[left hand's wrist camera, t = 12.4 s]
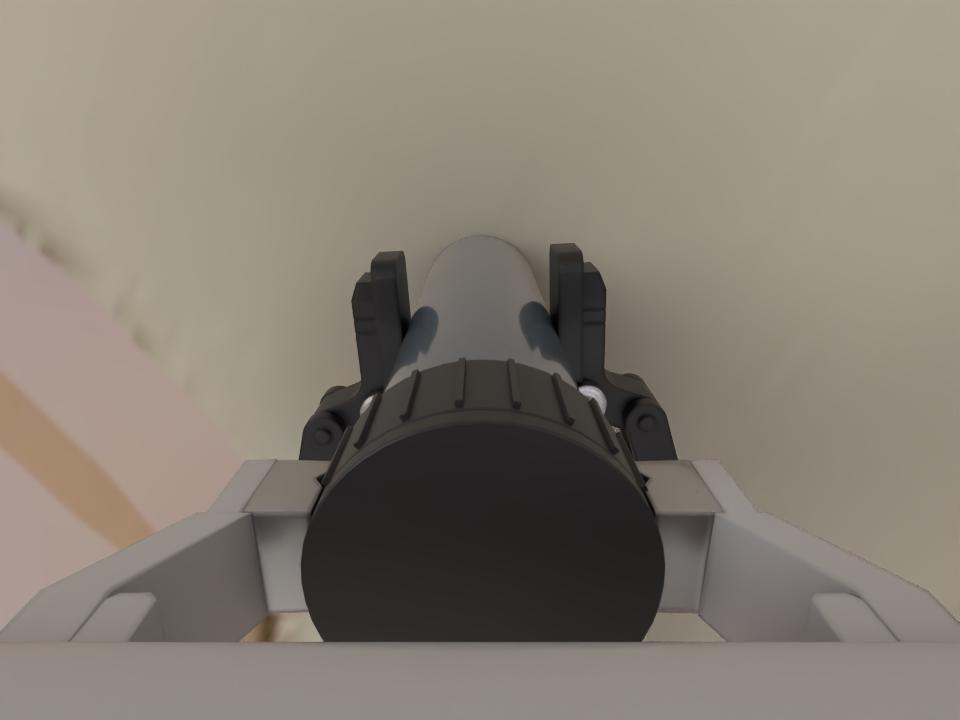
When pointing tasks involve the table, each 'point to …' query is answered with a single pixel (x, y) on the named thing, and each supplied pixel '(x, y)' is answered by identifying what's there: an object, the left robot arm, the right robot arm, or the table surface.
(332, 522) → the lid
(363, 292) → the right robot arm
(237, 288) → the table surface
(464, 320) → the jar
